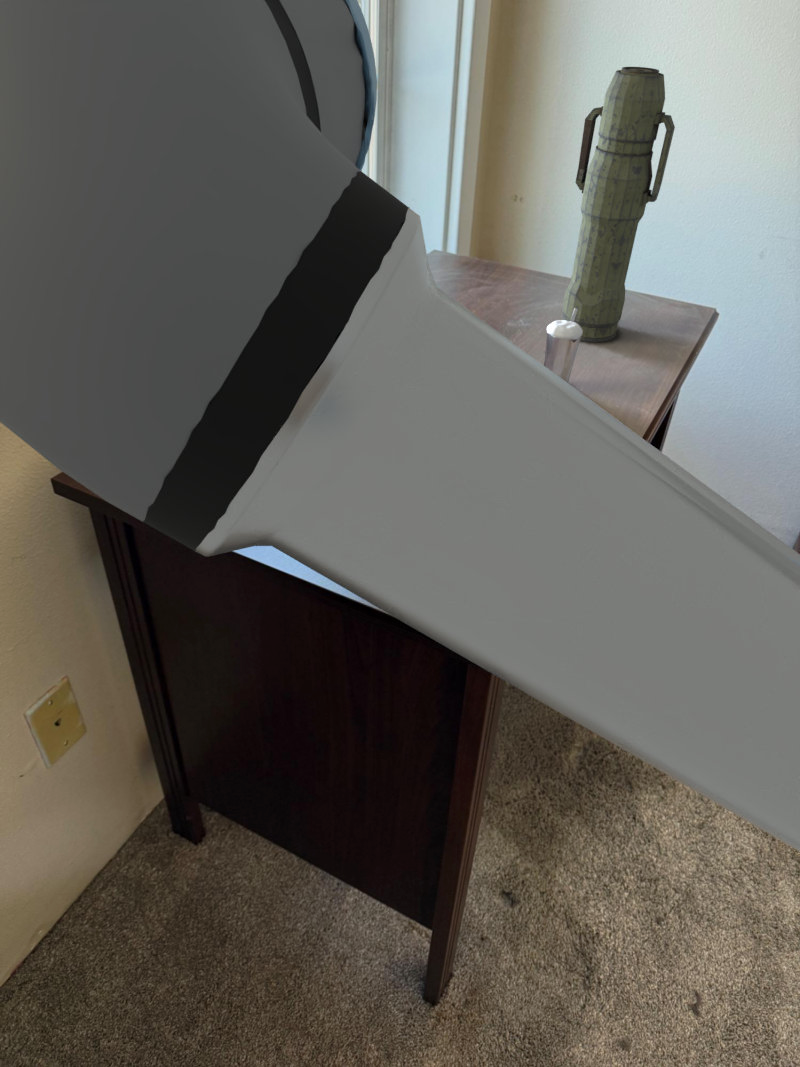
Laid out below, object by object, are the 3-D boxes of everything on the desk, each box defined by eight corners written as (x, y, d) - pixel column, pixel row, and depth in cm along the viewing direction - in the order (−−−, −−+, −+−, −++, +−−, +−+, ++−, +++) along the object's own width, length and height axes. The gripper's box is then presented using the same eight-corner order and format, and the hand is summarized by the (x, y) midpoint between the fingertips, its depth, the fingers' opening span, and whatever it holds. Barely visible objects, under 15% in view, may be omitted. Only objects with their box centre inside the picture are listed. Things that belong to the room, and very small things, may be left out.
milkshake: (578, 382, 102) (592, 312, 96) (563, 397, 99) (577, 325, 93) (548, 373, 104) (560, 304, 98) (532, 388, 101) (543, 316, 94)
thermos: (558, 313, 122) (602, 61, 100) (631, 328, 118) (692, 70, 96) (542, 332, 115) (585, 68, 94) (618, 349, 112) (681, 77, 90)
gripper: (547, 781, 45) (349, 586, 58) (775, 612, 57) (569, 482, 70) (568, 700, 40) (347, 508, 53) (812, 535, 52) (584, 412, 65)
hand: (473, 493), depth 62 cm, fingers open, 13 cm apart
